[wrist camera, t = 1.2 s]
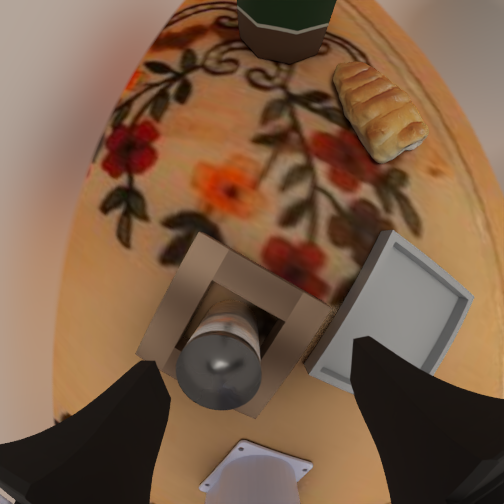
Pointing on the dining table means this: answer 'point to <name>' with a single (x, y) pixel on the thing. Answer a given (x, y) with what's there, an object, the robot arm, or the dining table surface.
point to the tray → (393, 312)
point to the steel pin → (222, 358)
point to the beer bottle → (284, 27)
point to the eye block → (248, 287)
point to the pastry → (378, 111)
